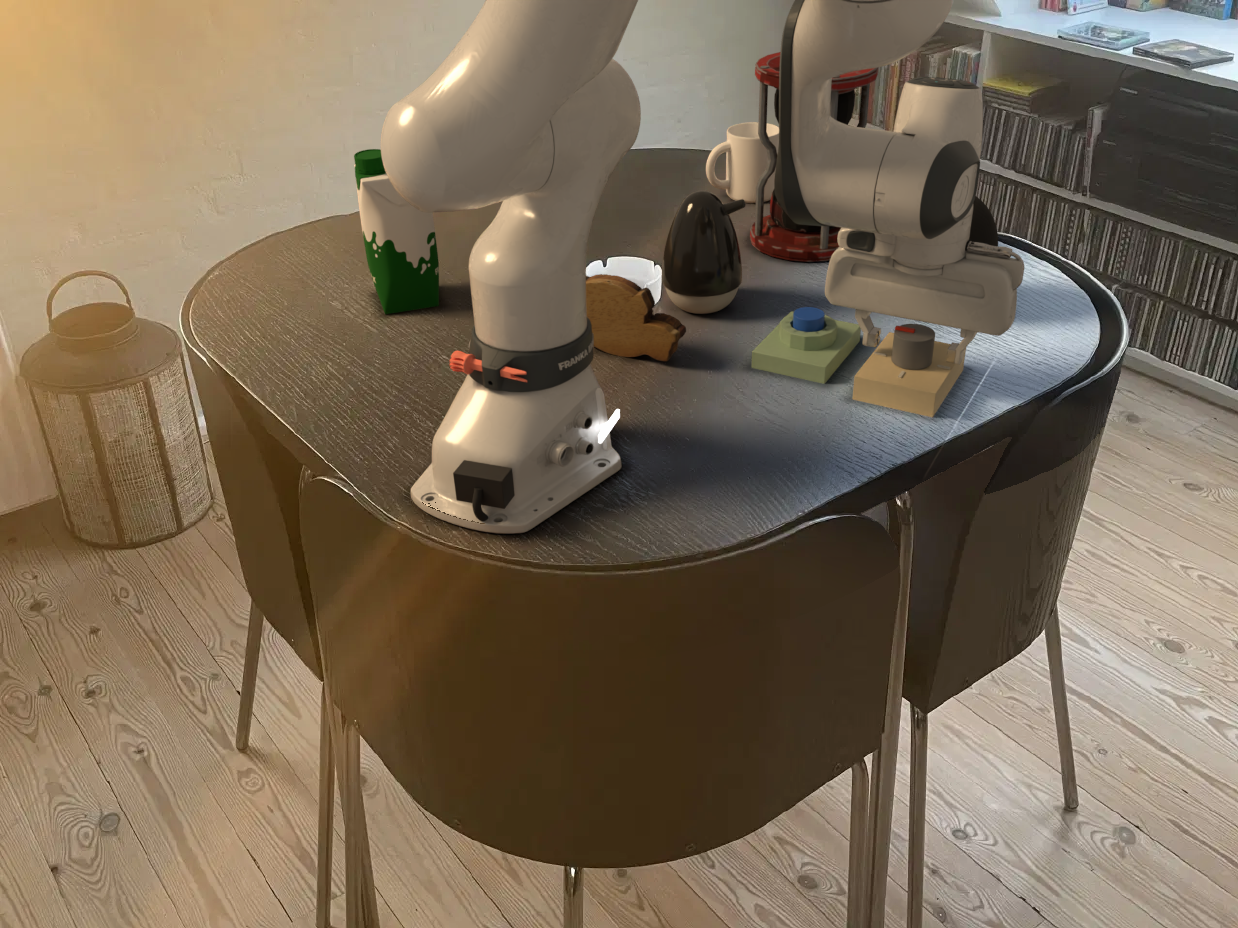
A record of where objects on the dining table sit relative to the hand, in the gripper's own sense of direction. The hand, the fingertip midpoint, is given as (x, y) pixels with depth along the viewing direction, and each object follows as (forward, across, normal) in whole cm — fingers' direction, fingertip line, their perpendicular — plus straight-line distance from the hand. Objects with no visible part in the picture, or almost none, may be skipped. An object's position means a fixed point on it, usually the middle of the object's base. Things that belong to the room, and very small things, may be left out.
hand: (912, 352), depth 130 cm
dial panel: (+4, 0, 0) cm, 4 cm away
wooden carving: (+4, +33, +7) cm, 34 cm away
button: (0, +13, -2) cm, 13 cm away
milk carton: (+4, +66, +6) cm, 66 cm away
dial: (+1, 0, 0) cm, 1 cm away
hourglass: (+4, +26, -35) cm, 44 cm away
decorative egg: (+4, +3, -22) cm, 23 cm away
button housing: (+4, +13, -2) cm, 14 cm away
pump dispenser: (+4, +30, -9) cm, 32 cm away
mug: (+4, +42, -48) cm, 64 cm away
